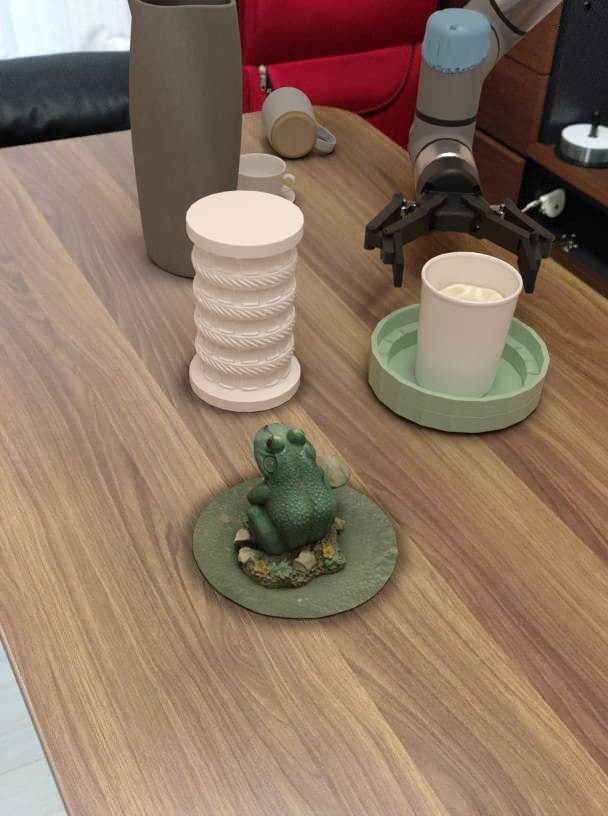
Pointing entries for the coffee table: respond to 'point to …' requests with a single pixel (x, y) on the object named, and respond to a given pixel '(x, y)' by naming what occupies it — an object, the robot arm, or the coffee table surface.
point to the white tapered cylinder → (464, 322)
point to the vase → (183, 115)
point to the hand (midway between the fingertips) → (465, 278)
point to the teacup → (264, 175)
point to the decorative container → (244, 299)
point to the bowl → (493, 411)
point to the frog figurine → (295, 534)
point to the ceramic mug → (293, 124)
